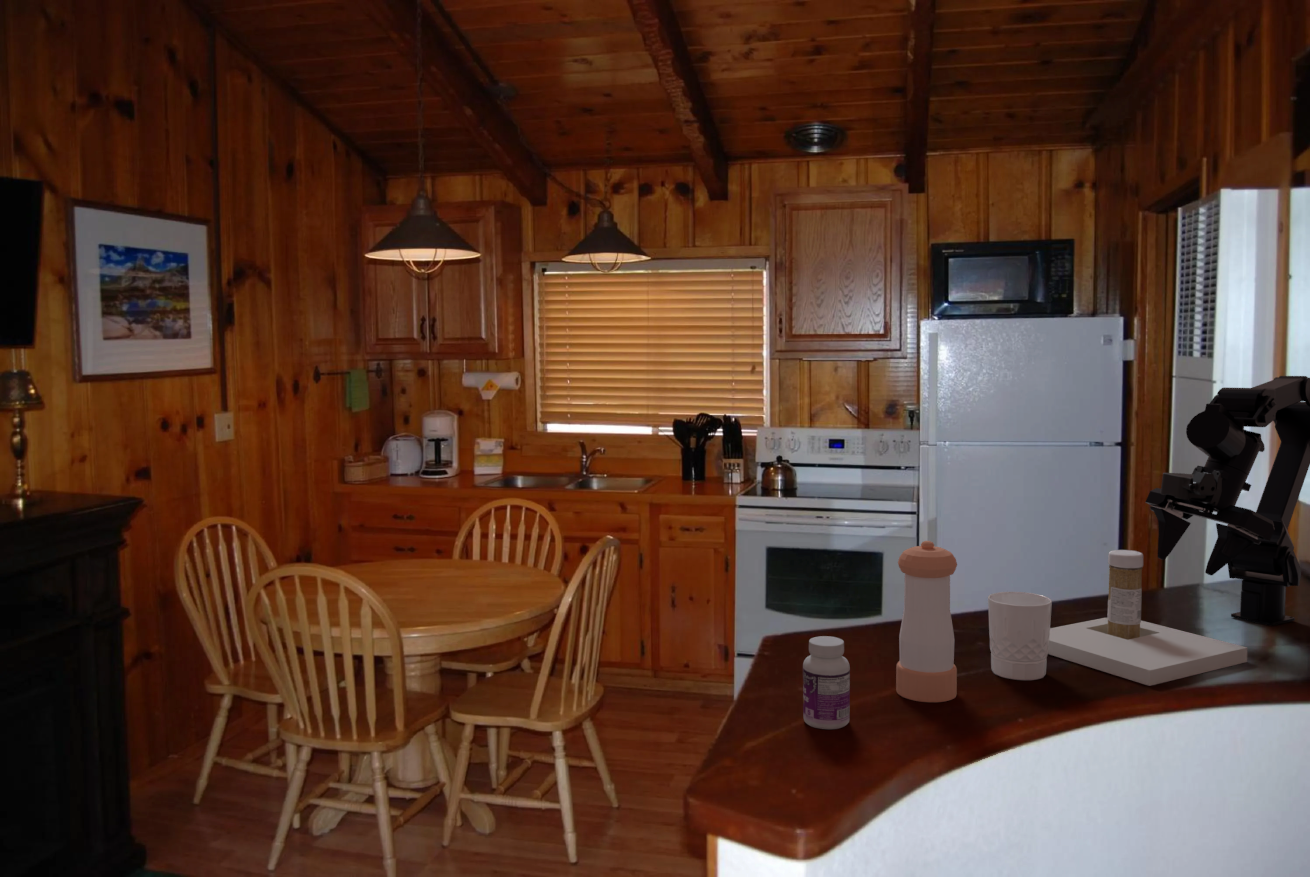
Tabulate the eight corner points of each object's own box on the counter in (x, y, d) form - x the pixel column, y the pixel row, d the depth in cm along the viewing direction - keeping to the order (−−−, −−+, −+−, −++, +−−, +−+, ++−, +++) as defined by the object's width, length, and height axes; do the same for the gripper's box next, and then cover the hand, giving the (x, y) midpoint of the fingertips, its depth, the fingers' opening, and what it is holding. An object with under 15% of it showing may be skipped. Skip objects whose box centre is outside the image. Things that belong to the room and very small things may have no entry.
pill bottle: (798, 715, 120) (798, 634, 120) (842, 713, 121) (842, 633, 120) (809, 732, 115) (808, 648, 114) (855, 729, 115) (855, 646, 115)
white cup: (1049, 666, 137) (1050, 593, 137) (1051, 684, 130) (1052, 607, 129) (987, 661, 140) (988, 590, 139) (986, 679, 133) (987, 603, 132)
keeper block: (1118, 627, 156) (1119, 614, 156) (1246, 661, 138) (1247, 647, 138) (1025, 646, 147) (1025, 633, 146) (1149, 685, 129) (1149, 670, 129)
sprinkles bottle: (1115, 637, 151) (1118, 547, 150) (1146, 644, 147) (1149, 552, 146) (1100, 643, 148) (1102, 551, 147) (1131, 650, 144) (1134, 556, 143)
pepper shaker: (946, 706, 123) (948, 548, 121) (888, 696, 126) (889, 543, 125) (963, 689, 129) (965, 539, 127) (907, 680, 133) (908, 534, 131)
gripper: (1140, 440, 156) (1099, 533, 156) (1239, 457, 138) (1192, 562, 138) (1193, 467, 159) (1152, 558, 160) (1296, 487, 142) (1251, 590, 142)
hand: (1183, 566), depth 150 cm, fingers open, 9 cm apart
